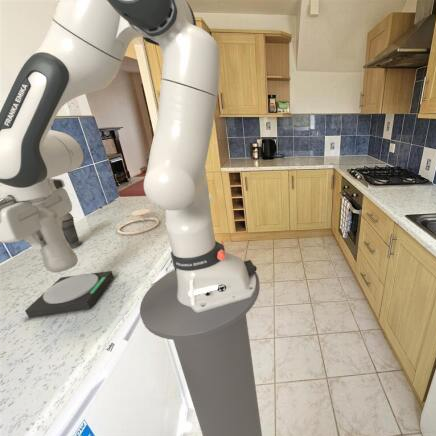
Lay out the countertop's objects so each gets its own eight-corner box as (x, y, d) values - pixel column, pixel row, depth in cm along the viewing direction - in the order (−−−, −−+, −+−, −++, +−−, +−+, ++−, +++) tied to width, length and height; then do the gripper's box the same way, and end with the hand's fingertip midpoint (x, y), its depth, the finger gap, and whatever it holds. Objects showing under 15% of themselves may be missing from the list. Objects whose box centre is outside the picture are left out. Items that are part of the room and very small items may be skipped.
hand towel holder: (109, 229, 101) (123, 211, 119) (112, 238, 103) (125, 219, 121) (153, 222, 106) (161, 206, 124) (156, 231, 107) (163, 214, 125)
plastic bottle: (59, 263, 69) (25, 196, 61) (86, 260, 70) (55, 194, 62) (42, 277, 63) (1, 205, 55) (71, 273, 64) (35, 202, 56)
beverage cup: (59, 246, 97) (37, 199, 89) (82, 240, 102) (63, 194, 94) (61, 253, 92) (38, 203, 84) (85, 245, 97) (65, 198, 89)
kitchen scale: (114, 277, 77) (110, 268, 76) (90, 308, 65) (85, 299, 63) (63, 284, 75) (59, 275, 74) (29, 318, 62) (23, 308, 61)
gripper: (3, 203, 48) (34, 261, 54) (67, 178, 67) (85, 224, 72) (-36, 206, 47) (0, 265, 53) (40, 180, 66) (61, 226, 71)
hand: (49, 241), depth 63 cm, fingers closed on plastic bottle, 5 cm apart
